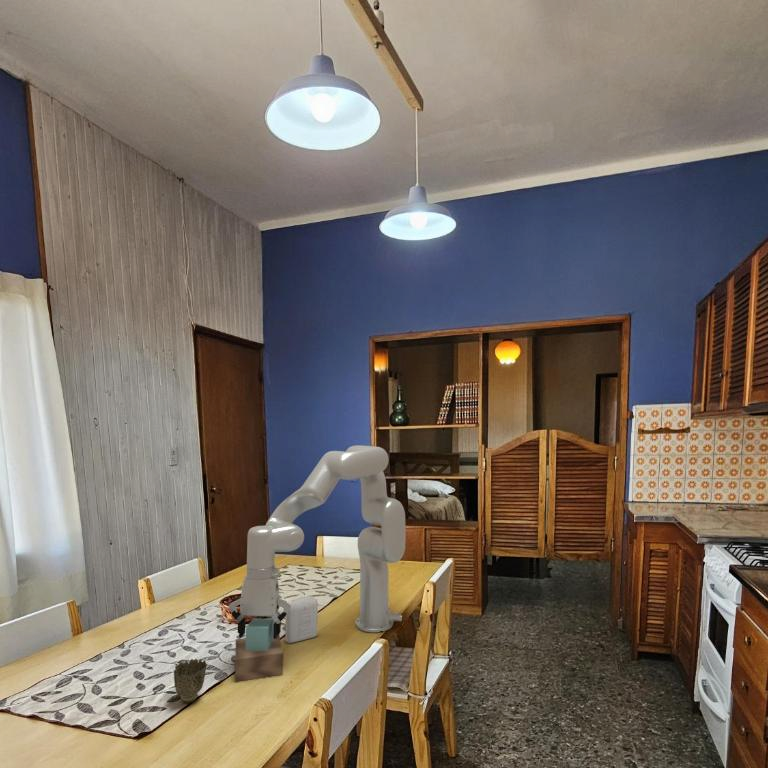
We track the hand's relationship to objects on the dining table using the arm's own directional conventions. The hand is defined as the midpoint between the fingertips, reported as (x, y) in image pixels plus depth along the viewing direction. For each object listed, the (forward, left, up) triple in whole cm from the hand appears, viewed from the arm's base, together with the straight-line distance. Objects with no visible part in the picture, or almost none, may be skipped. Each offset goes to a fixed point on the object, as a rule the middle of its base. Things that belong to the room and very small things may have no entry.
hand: (259, 636), depth 131 cm
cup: (+12, +16, -8) cm, 22 cm away
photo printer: (-8, -18, -8) cm, 21 cm away
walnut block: (0, 0, -9) cm, 9 cm away
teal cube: (0, 0, -3) cm, 3 cm away
